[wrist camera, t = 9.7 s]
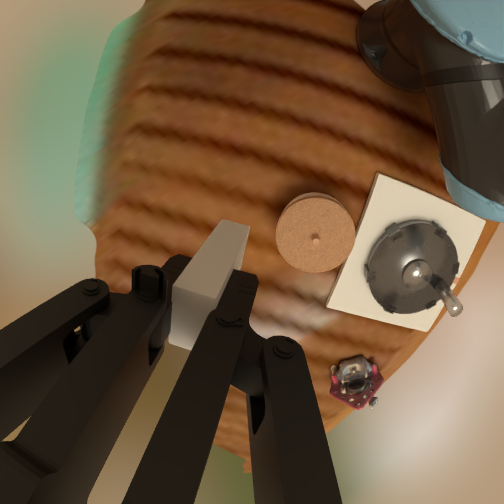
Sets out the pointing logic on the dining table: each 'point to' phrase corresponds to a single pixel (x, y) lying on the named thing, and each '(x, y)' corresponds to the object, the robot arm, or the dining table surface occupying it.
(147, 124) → the dining table surface
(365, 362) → the grey maroon spiky lump
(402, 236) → the notched disc with hub
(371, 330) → the dining table surface
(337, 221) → the lidded jar
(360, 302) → the base board
